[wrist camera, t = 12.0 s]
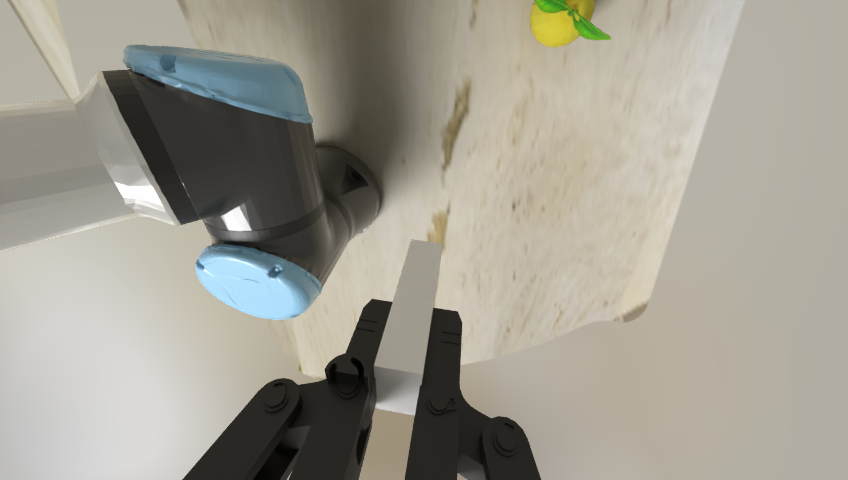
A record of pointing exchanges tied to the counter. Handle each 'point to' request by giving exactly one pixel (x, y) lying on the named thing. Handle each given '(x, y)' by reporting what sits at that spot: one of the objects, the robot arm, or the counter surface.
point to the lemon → (563, 21)
